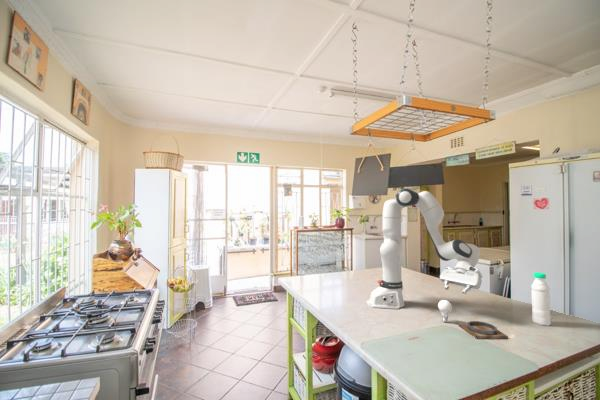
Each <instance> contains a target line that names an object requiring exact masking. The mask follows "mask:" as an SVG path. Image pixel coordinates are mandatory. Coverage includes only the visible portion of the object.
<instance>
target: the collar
mask: <svg viewBox="0 0 600 400" xmlns="http://www.w3.org/2000/svg"><path fill="white" fill-rule="evenodd" d="M471 325H480V326H486V327H489V328H491V329H493V330H492V331H486V330H480V329H477V328H474V327H472V326H471ZM467 328H468V329H469V330H471V331H473V332H476V333H479V334H484V335H495V334H497V330H498V328H497V326H495V325H494V324H491V323H488V322H485V321H479V320H471V321H467Z"/></svg>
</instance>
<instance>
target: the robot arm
mask: <svg viewBox="0 0 600 400" xmlns="http://www.w3.org/2000/svg"><path fill="white" fill-rule="evenodd" d="M411 206H415V207H416V208H417V209H418V210H419V211H420V213H421V215H422V217H423V218H424V222H425V228H426V231H427V233H428V236H429V237H430V240H431V242H432V244H433V246H434V249H435V253H436V254H437V255H436V256H437V257H438V258H439V259H440V260H442V261H444V262H448V261H452V260H455V259H456V260H457V262H456V263H455V266H454V268H453V267H445V268H444V269H443V271H442V272H441V273H440V274H439V279H440V281H441V282H442V283H444V287H443V288H444V289H445V290H449V289H450V286H449V285H456V286H460V287H464V288H462V289H461V293H462V294H464V295H466V294H467V292H469V291H471V290H472V289H474V290H479V289H480V288H481V286H482V281H483V280H482V279H483V274H482V272H481V271H480V270H479V268H477V267H476V266H477V264H478V262H479V260H480V256H481V250H480V248H479V247H478V245H475V244H473V243H467V242H465V241H463V240H462V239H453V240H449V241H448V242H445V241H444V238H443V236H442V234H441V233H440V229H439V226H440V223H442V221H443V219H444V217H445V211H444V209H443V207H442V205H440V202H439V200H437V198H436V197H435V196H434V195H433V194H432V193H431V192H430V191H427V190H424V191H421V192H418V193H417V192H416V191H414V190H413V189H411V188H406V187H405V188H401V189H399V190H398V191H397V193H396V195H395V198H392V199H388V200H385V202H384V204H383V207H382V228H381V230H382V235H383V242H382V243H381V245H380V247H379V253H380V261H381V267H382V269H381V270H382V279H377V283H378V284H379V286H378V287H376V288H375V289H374V290H372V291H371V292H370V296H369V298H367V299H366V304H367V305H368V306H369V307H371V308H373V309H374V308H376V309H389V310H390V309H392V310H394V309H395V310H399V309H401V308H403V307H405V306H406V304H405V300H404V295H403V294H404V293H403V288H404V287H403V286H404V285H403V281H402V265H401V256H400V254H402V251H403V237H402V210H403V209H404V208H409V207H411Z"/></svg>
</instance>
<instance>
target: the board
mask: <svg viewBox="0 0 600 400" xmlns="http://www.w3.org/2000/svg"><path fill="white" fill-rule="evenodd" d="M471 326H472V327H474V328H477V329H480V330H486V331H492V330H493V329H491V328H489V327H486V326H480V325H471ZM458 327H459V328H461V329H462V330H463V331H465V332H466V333H468V335H470V336H471V335H472V336H471V337H473V336H474V337H475V338H474V337H473V338H474V339H476V338H480V339H479V340H508V339H509V336H508V335H507V334H505V333H504V332H502V331H501V330H499V329H497V334H495V335H484V334H479V333H476V332H473V331H471V330H469V329H468V328H467V323H462V322H461V323H460V322H459V323H458Z"/></svg>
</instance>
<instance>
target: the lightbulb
mask: <svg viewBox="0 0 600 400" xmlns="http://www.w3.org/2000/svg"><path fill="white" fill-rule="evenodd" d="M437 308H438V310H439V311H440V314H441V318H442V322H444V323H448V322H449V315H450V313H451V311H452V309H453V305H452V303H451V302H450V301H448V300H446V299H441V300H439V301H438V304H437Z"/></svg>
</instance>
